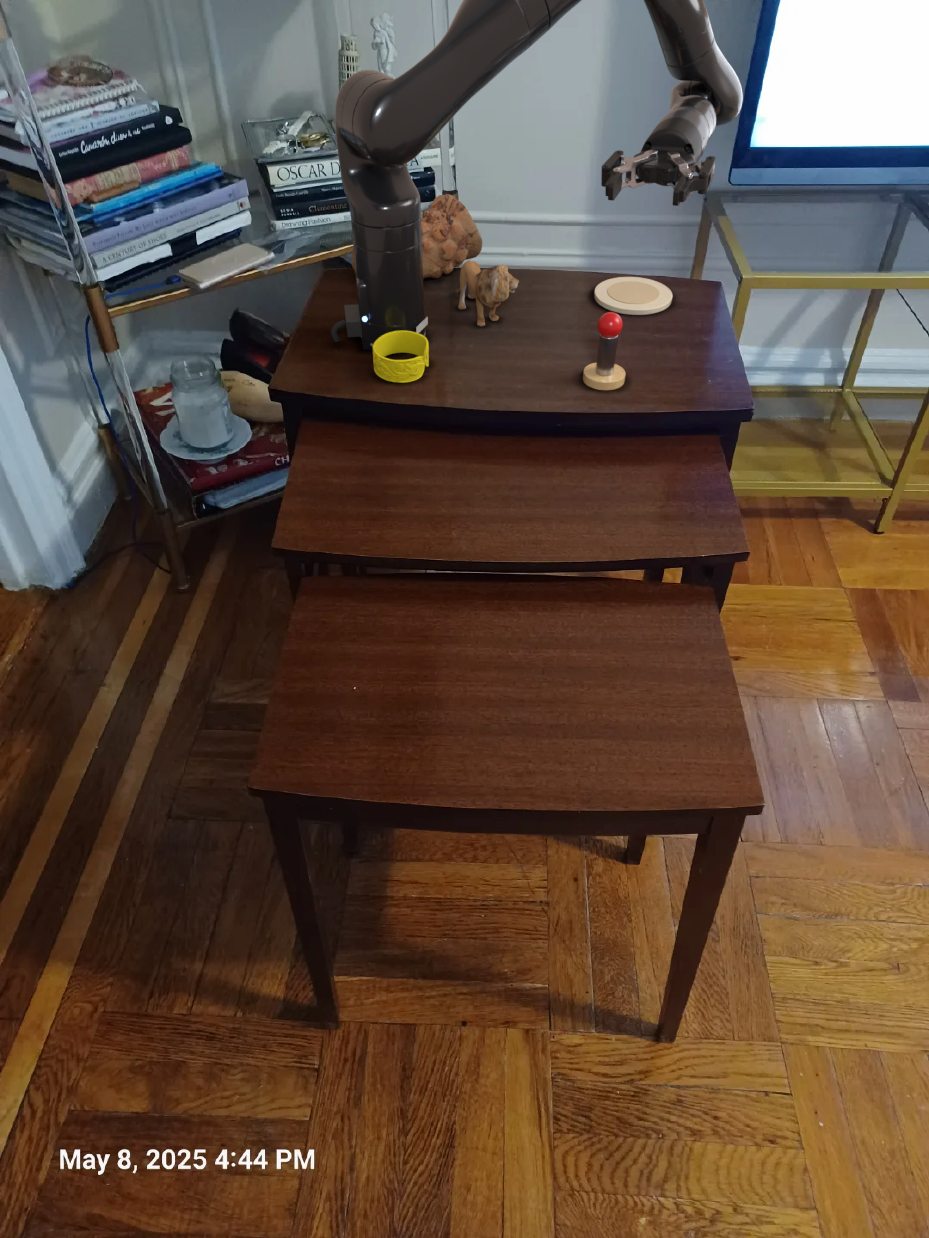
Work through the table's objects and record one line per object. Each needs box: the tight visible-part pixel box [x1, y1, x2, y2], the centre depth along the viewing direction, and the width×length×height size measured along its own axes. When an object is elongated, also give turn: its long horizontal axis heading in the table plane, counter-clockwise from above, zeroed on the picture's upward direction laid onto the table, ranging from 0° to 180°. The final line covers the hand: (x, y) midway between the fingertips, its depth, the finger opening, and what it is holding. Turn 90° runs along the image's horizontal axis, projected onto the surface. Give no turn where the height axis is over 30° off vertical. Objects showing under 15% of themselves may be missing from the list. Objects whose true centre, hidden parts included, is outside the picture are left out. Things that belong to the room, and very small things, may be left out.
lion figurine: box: [452, 259, 520, 327], centre depth 130 cm, size 15×5×9 cm, turn 33°
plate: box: [593, 276, 674, 316], centre depth 137 cm, size 12×12×1 cm
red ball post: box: [582, 311, 626, 391], centre depth 116 cm, size 6×6×9 cm
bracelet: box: [372, 330, 430, 384], centre depth 120 cm, size 7×8×3 cm
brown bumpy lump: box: [351, 193, 483, 280], centre depth 141 cm, size 19×11×15 cm
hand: (642, 195), depth 113 cm, fingers open, 8 cm apart
